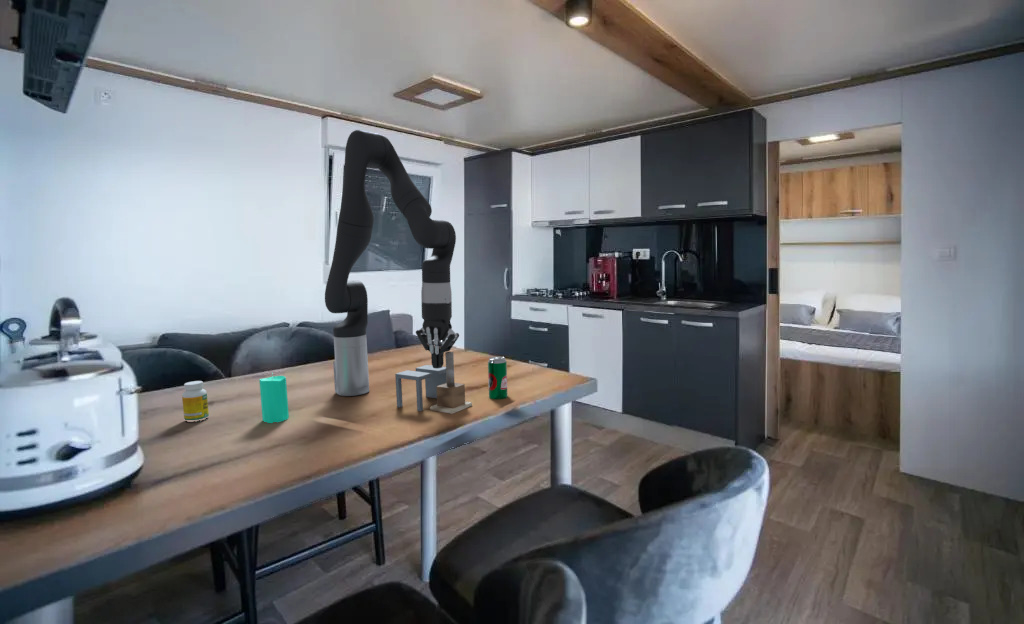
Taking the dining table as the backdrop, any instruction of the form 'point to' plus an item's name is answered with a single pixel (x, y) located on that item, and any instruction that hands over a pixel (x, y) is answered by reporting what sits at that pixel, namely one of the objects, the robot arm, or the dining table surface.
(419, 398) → the grey table frame
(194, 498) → the dining table surface
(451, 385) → the stepped block tower
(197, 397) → the supplement bottle
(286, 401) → the candle
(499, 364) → the soda can
